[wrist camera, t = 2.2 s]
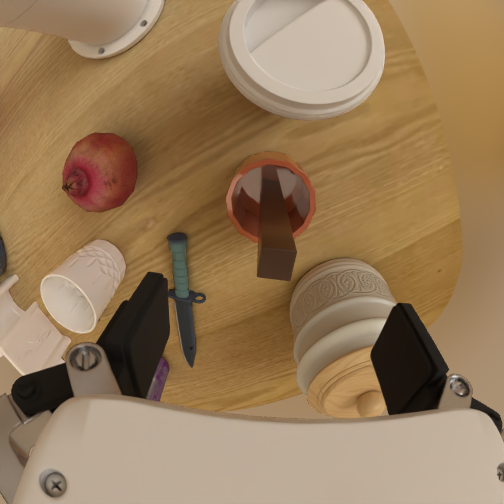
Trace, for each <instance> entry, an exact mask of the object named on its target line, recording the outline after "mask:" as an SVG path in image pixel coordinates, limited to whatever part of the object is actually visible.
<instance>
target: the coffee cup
mask: <svg viewBox="0 0 504 504" xmlns="http://www.w3.org/2000/svg"><path fill="white" fill-rule="evenodd" d="M218 50H219V56H220V60H221V63H222V66H223V68H224V70H225V72H226V74H227V76H228V78H229V79H230V81H231V82H232V83H233V85H234V86H235V87H236V88H237V89H238V90H239V91H240V92H241V93H242V94H243V95H244V96H245V97H246V98H247V99H249V100H250V101H251V102H253V103H254V104H256V105H257V106H259V107H261V108H262V109H264V110H266V111H269V112H271V113H273V114H276V115H279V116H282V117H286V118H290V119H296V120H308V121H309V120H324V119H329V118H333V117H337V116H340V115H343V114H345V113H347V112H349V111H351V110H353V109H354V108H356V107H357V106H359V105H360V104H361V103H362V102H364V101H365V100H366V99H367V98H368V97H369V95H370V94H371V93H372V92H373V90H374V89H375V87H376V86H377V84H378V82H379V80H380V78H381V75H382V72H383V68H384V61H385V47H384V41H383V36H382V32H381V29H380V26H379V24H378V22H377V20H376V18H375V16H374V14H373V13H372V11H371V10H370V9H369V7H368V6H367V5H366V4H365V3H364V2H363V1H362V0H235V1H234V2H233V3H232V5H231V6H230V7H229V9H228V10H227V12H226V14H225V16H224V18H223V21H222V23H221V26H220V30H219V36H218Z"/></svg>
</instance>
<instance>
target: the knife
mask: <svg viewBox="0 0 504 504" xmlns="http://www.w3.org/2000/svg"><path fill="white" fill-rule="evenodd" d="M167 239H168V241H169V249H170V250H171V251H172V258H173V260H172V261H173V277H174V284H175V290H172V289H170V290H169V291H168V297H170V298H173V299H175V303H174V305H175V312H176V318H177V325H178V331H179V337H180V343H181V348H182V352H183V355H184V358H185V360H186V362H187V364H188V365H189V366H190V367H191V368H192V367H193V363H194V357H195V352H196V342H195V333H194V324H193V315H192V302H195V303H203V302H205V300H206V296H205V295H204V294H202V293H197V294H196V293H195V292H194V291H189V288H188V271H187V267H186V266H187V265H186V259H185V258H186V257H185V250H186V248H187V237H186V235H185V234H184V233H173V234H170V235H169V236H168V237H167ZM197 296H201V297H203V299H202V300H196V299H195V297H197ZM190 346H192V348H191V347H190Z"/></svg>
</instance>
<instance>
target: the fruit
mask: <svg viewBox="0 0 504 504" xmlns="http://www.w3.org/2000/svg"><path fill="white" fill-rule="evenodd" d="M62 173H63V186H62V189H63V190H64V191H66V193H67V195H68V196H69V197H70V198H71V199H72V201H73V202H74V203H75V204H76V205H78V206H79V207H81V208H83V209H84V210H86V211H88V212H105V211H107V210H110V209H113V208H116V207H119V206H121V205H122V204H123V203H124V202H125V201H126V200H127V199H128V197H129V196H130V195H131V194H132V192H133V191H134V188H135V183H136V179H137V160H136V157H135V154H134V151H133V148H132V147H131V146H130V145H129V144H128V142H127V141H126V140H125V139H123V138H122V137H120V136H117V135H115V134H113V133H93V134H90V135H88V136H86V137H85V138H83V139H81V140H80V141H78V142H77V143H76V144H75V145H74V147H73V148H72V150H71V152H70V154H69V156H68V158H67V160H66V162H65V166H64V169H63V172H62Z"/></svg>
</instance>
